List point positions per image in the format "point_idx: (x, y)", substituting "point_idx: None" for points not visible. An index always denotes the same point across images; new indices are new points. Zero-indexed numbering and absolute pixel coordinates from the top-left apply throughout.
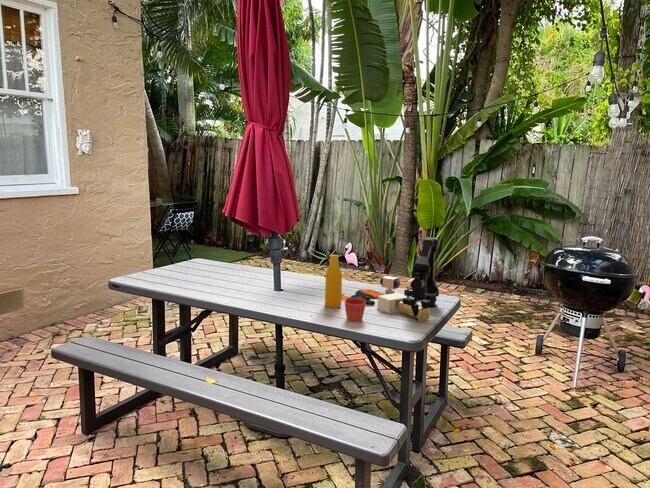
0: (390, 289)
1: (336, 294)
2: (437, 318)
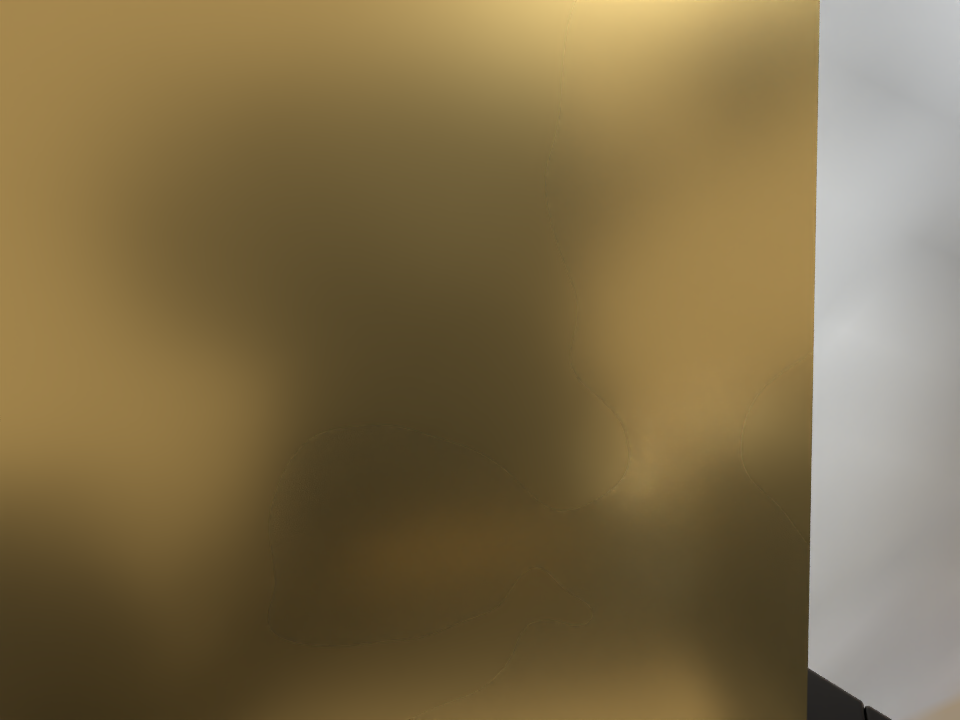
0: None
1: None
2: (935, 667)
